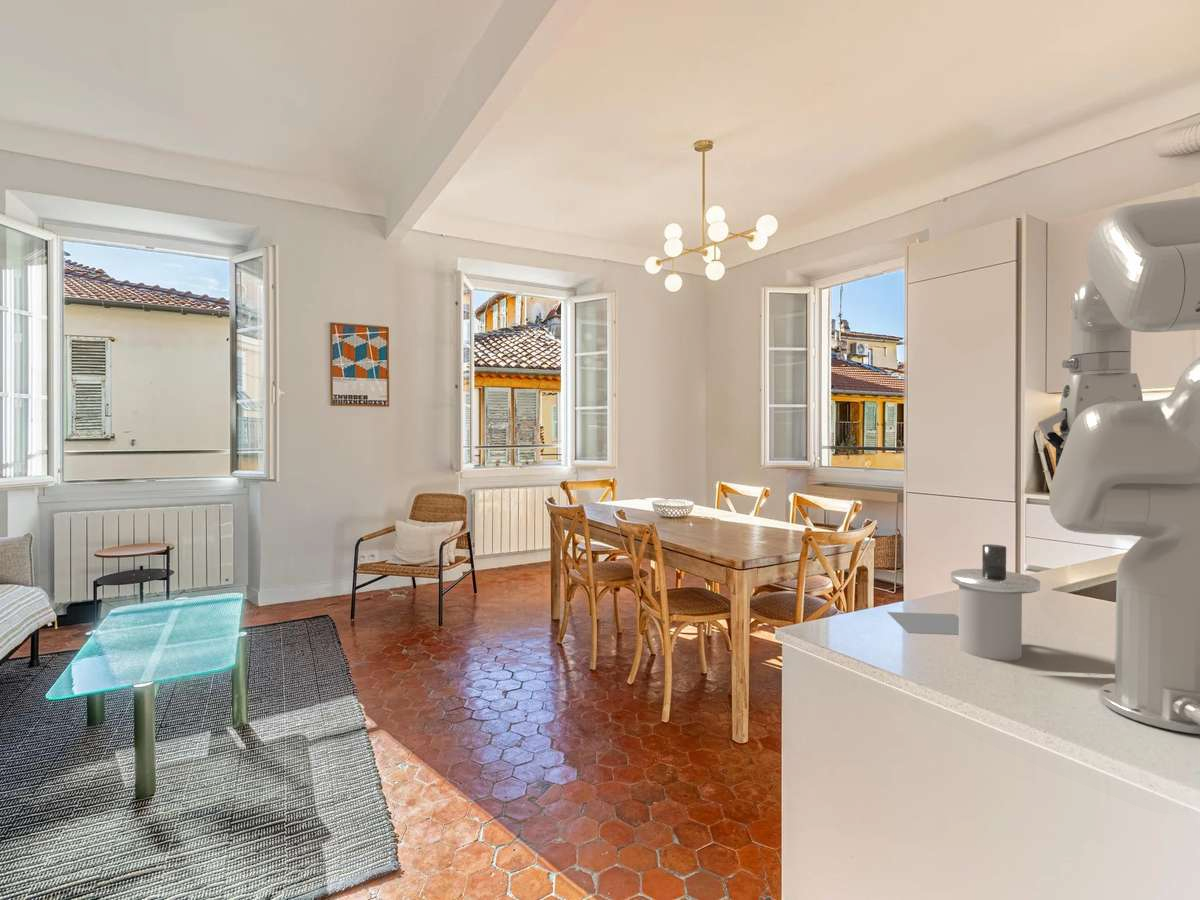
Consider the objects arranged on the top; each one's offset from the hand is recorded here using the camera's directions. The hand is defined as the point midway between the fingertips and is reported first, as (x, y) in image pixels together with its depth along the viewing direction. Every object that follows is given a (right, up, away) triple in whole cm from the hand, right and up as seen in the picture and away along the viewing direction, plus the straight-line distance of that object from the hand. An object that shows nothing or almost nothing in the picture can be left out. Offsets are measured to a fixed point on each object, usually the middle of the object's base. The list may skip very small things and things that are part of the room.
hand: (1098, 473), depth 99 cm
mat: (-20, -28, +12) cm, 37 cm away
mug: (-17, -29, 0) cm, 33 cm away
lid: (-17, -18, -1) cm, 25 cm away
